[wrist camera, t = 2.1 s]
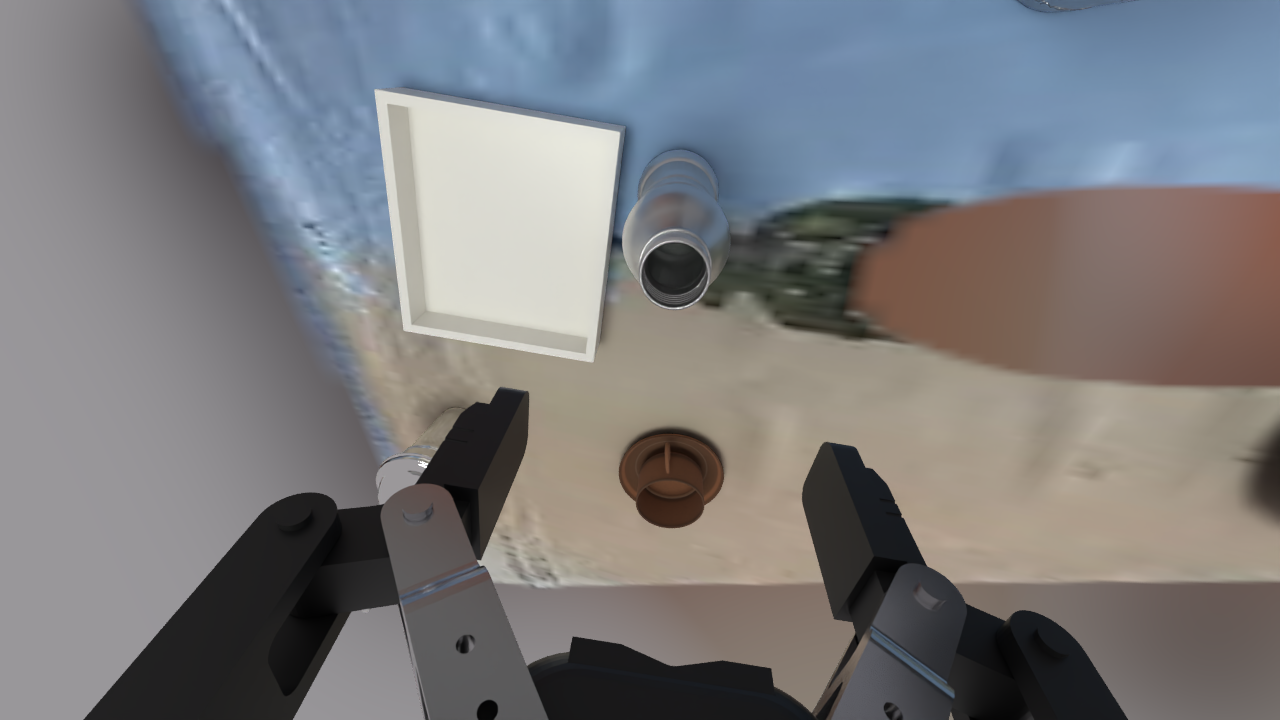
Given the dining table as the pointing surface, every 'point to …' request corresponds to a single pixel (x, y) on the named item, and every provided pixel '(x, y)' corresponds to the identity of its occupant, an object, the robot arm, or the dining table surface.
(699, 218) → the plastic bottle
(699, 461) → the cup and saucer
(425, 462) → the cup with straw
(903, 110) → the dining table surface
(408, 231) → the tray
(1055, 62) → the dining table surface
